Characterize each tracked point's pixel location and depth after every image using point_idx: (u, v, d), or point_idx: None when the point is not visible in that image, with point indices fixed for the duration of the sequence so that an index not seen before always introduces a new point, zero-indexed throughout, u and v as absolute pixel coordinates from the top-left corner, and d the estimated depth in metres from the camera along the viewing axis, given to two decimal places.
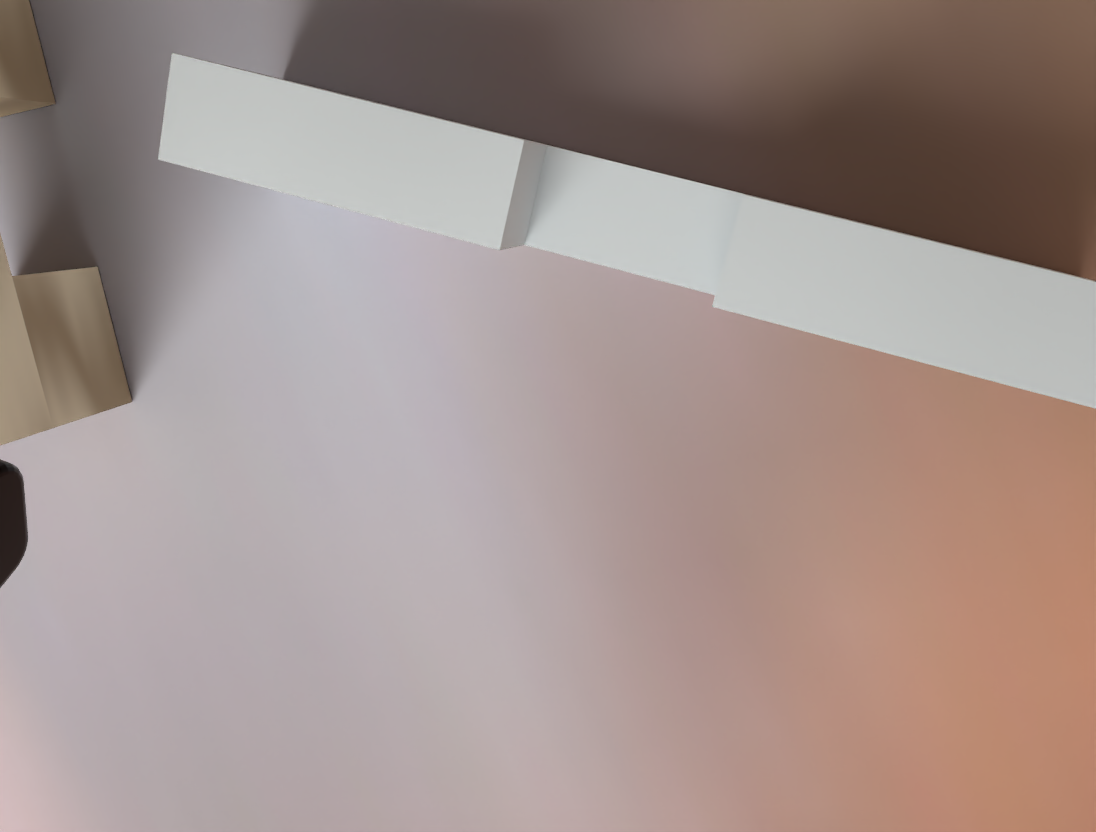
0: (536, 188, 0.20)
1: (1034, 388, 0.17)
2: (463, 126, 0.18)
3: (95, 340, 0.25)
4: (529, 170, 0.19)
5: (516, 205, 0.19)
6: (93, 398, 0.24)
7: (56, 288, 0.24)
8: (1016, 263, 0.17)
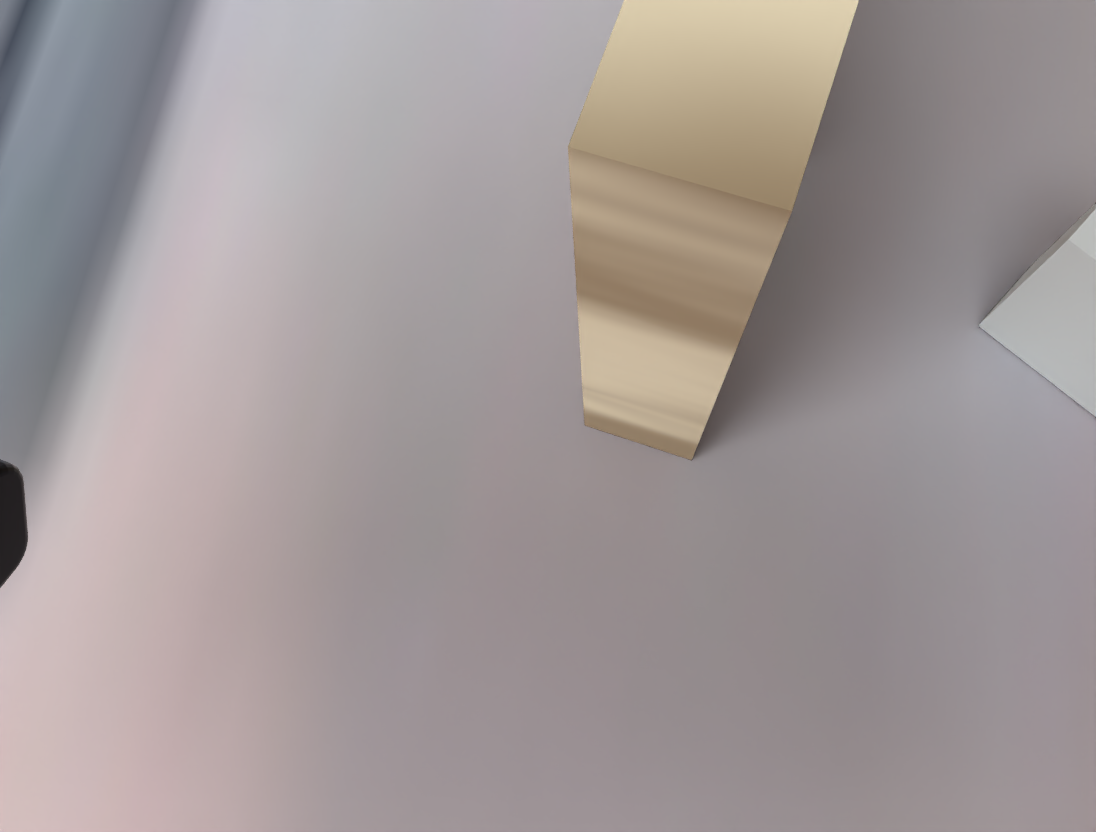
0: None
1: None
2: None
3: None
4: None
5: None
6: None
7: None
8: None
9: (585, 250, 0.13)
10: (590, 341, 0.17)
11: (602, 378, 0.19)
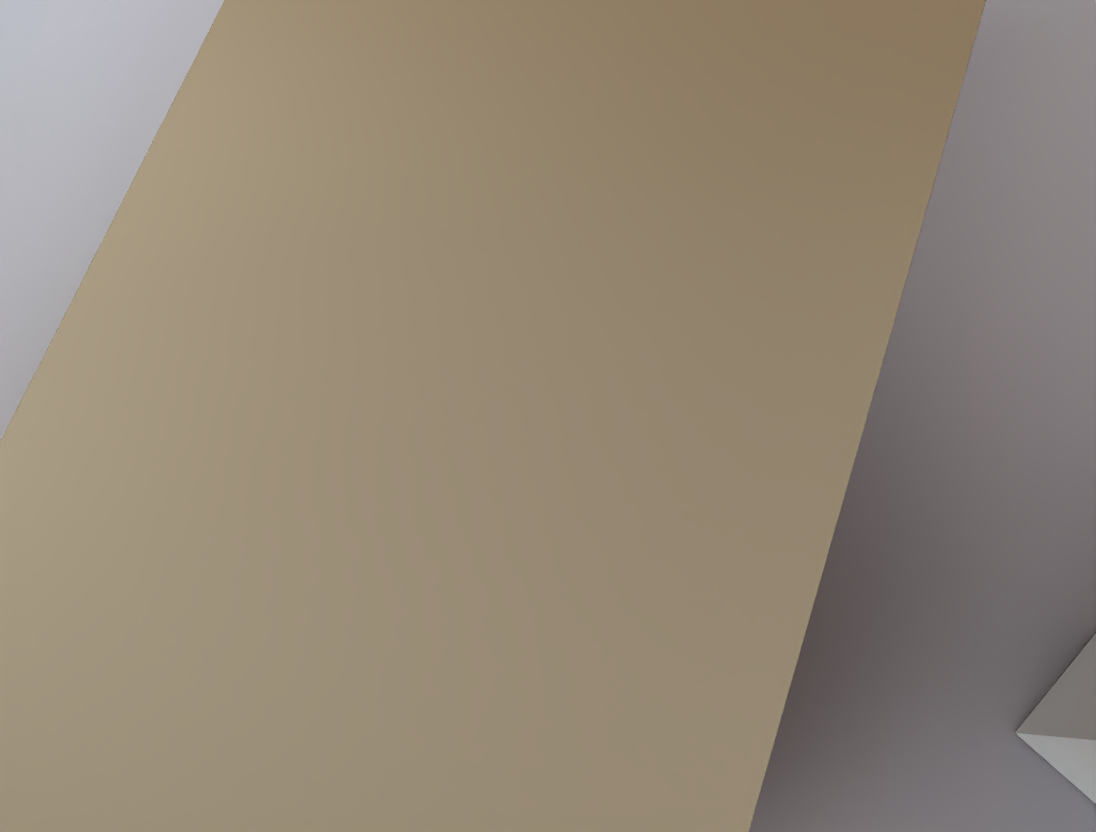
0: None
1: None
2: None
3: None
4: None
5: None
6: None
7: None
8: None
9: None
10: None
11: None
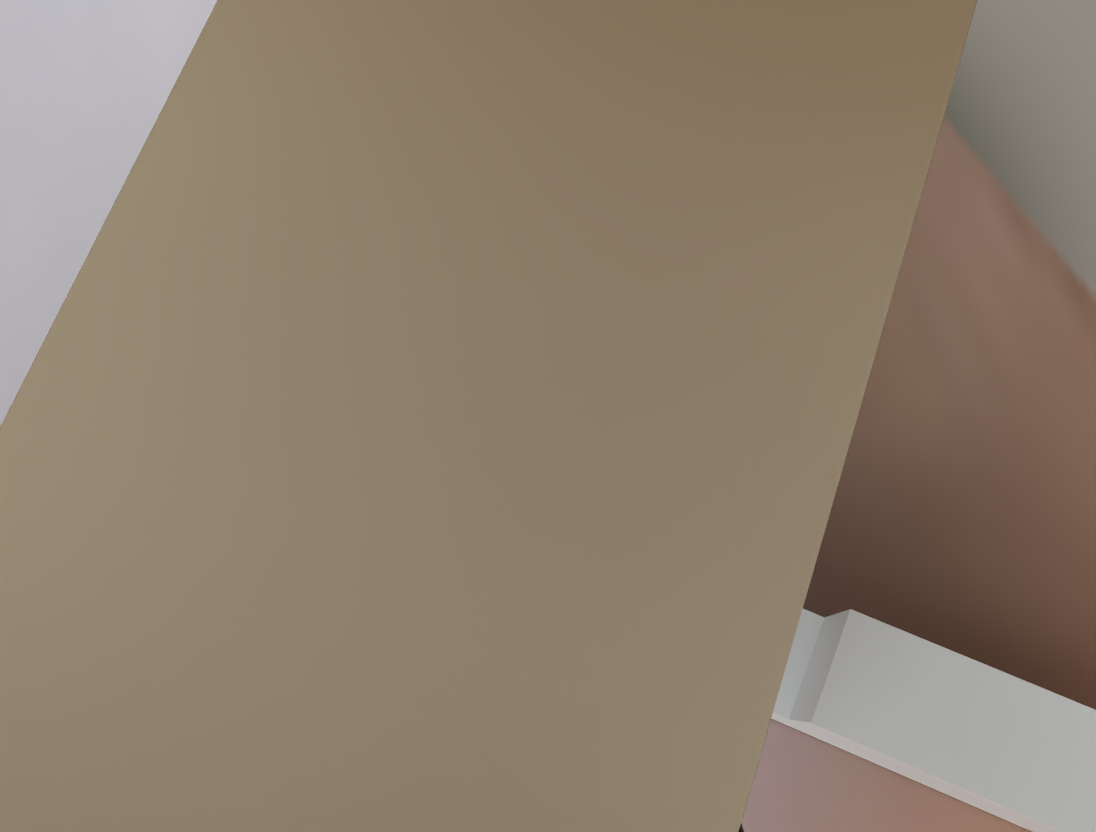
0: None
1: None
2: None
3: None
4: None
5: None
6: None
7: None
8: None
9: None
10: None
11: None
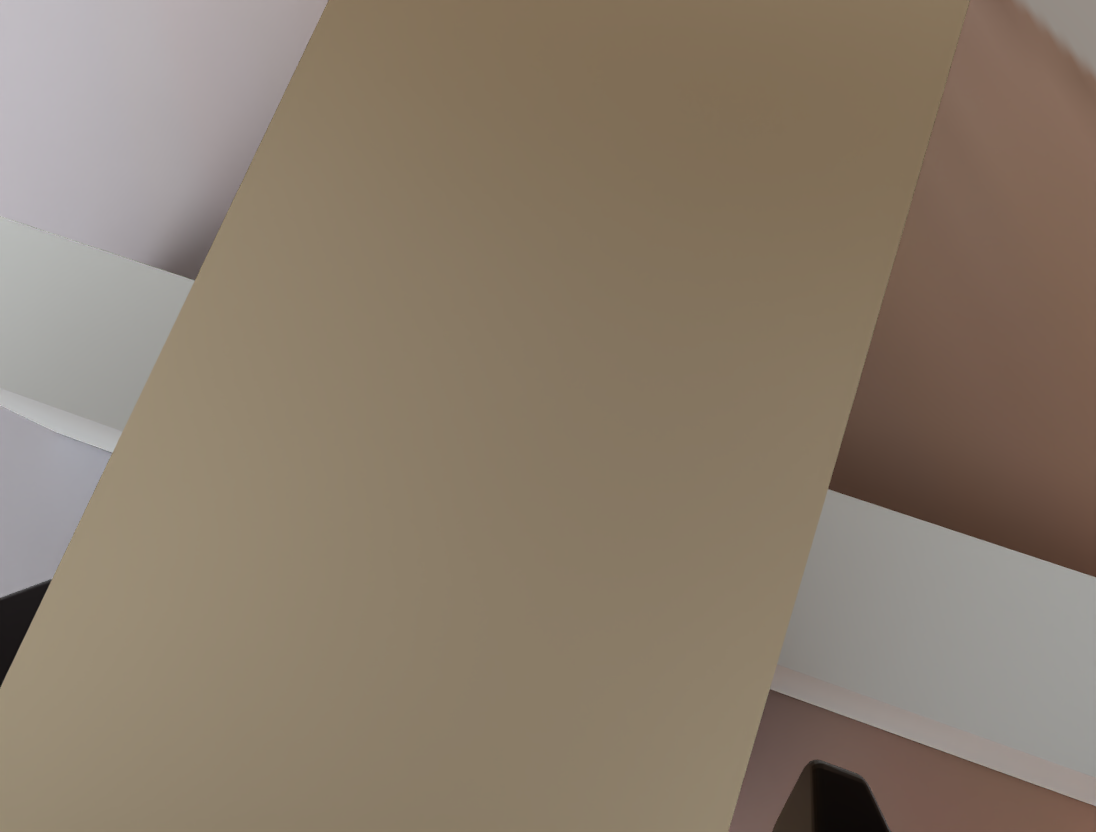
0: None
1: None
2: None
3: None
4: None
5: None
6: None
7: None
8: None
9: None
10: None
11: None
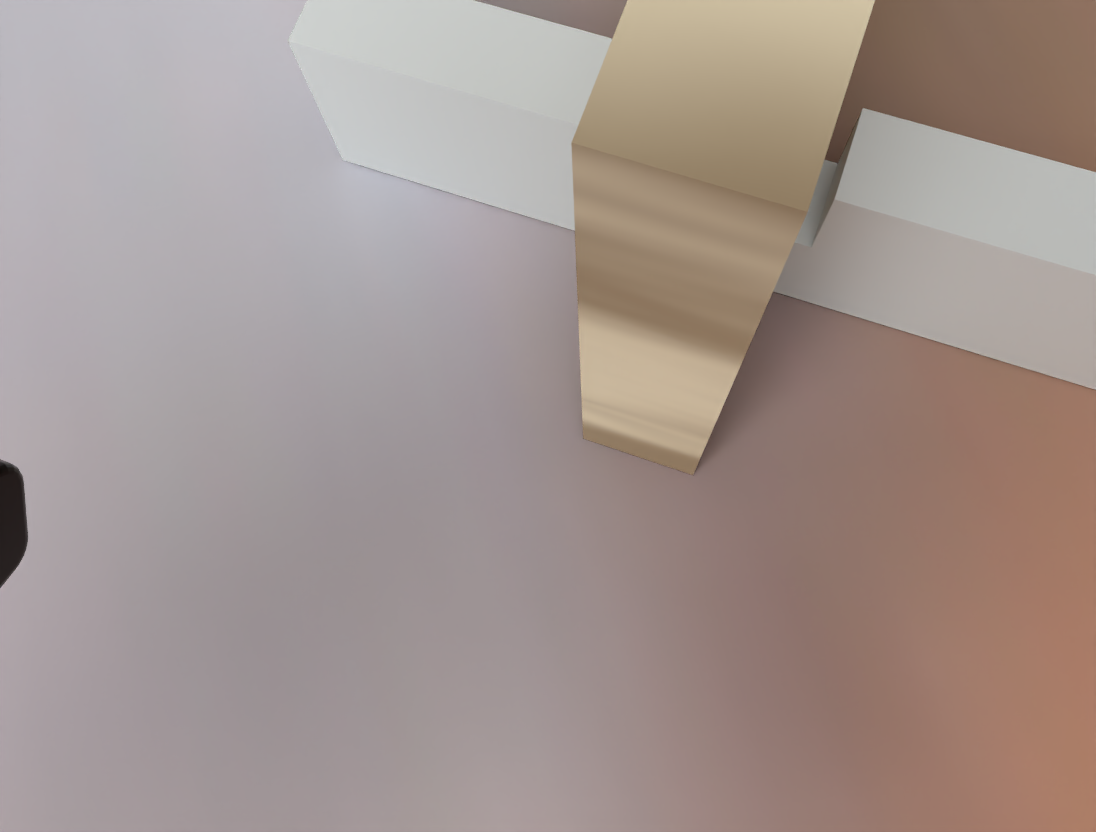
0: None
1: None
2: (601, 37, 0.19)
3: None
4: None
5: None
6: None
7: None
8: None
9: (587, 254, 0.13)
10: (591, 351, 0.16)
11: (602, 389, 0.18)
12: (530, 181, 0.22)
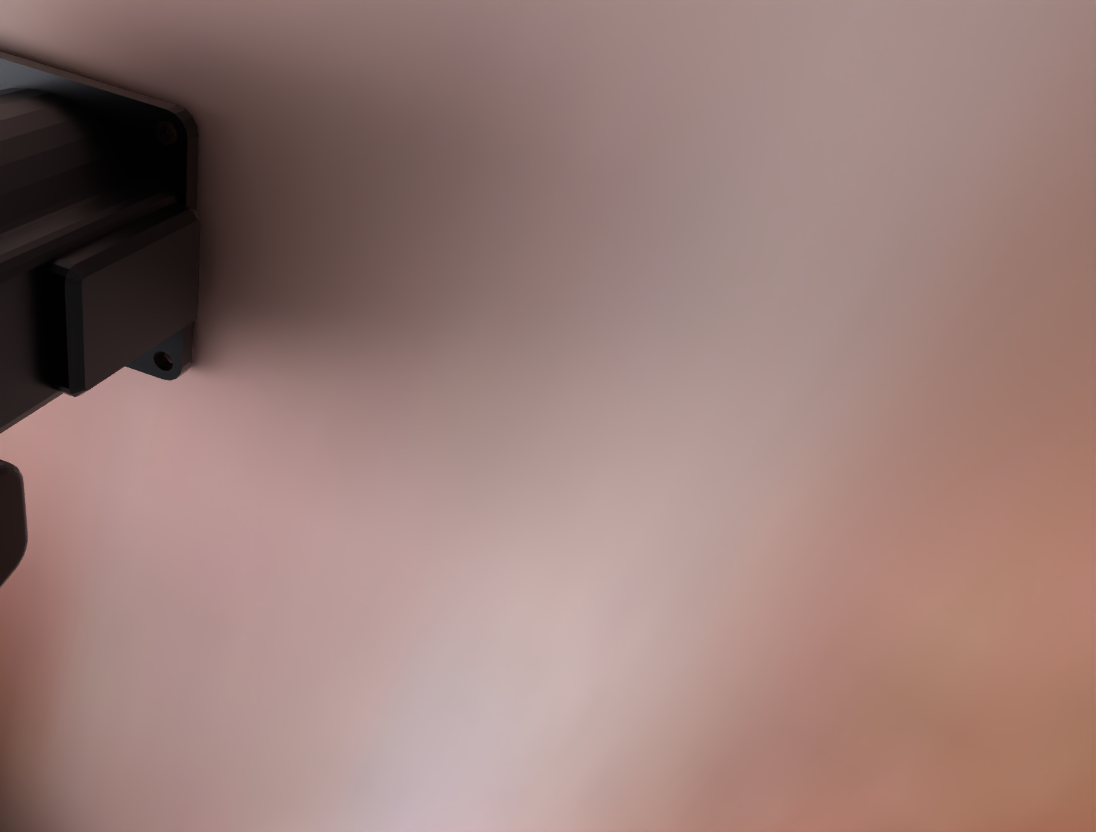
0: None
1: None
2: None
3: None
4: None
5: None
6: None
7: None
8: None
9: None
10: None
11: None
12: None
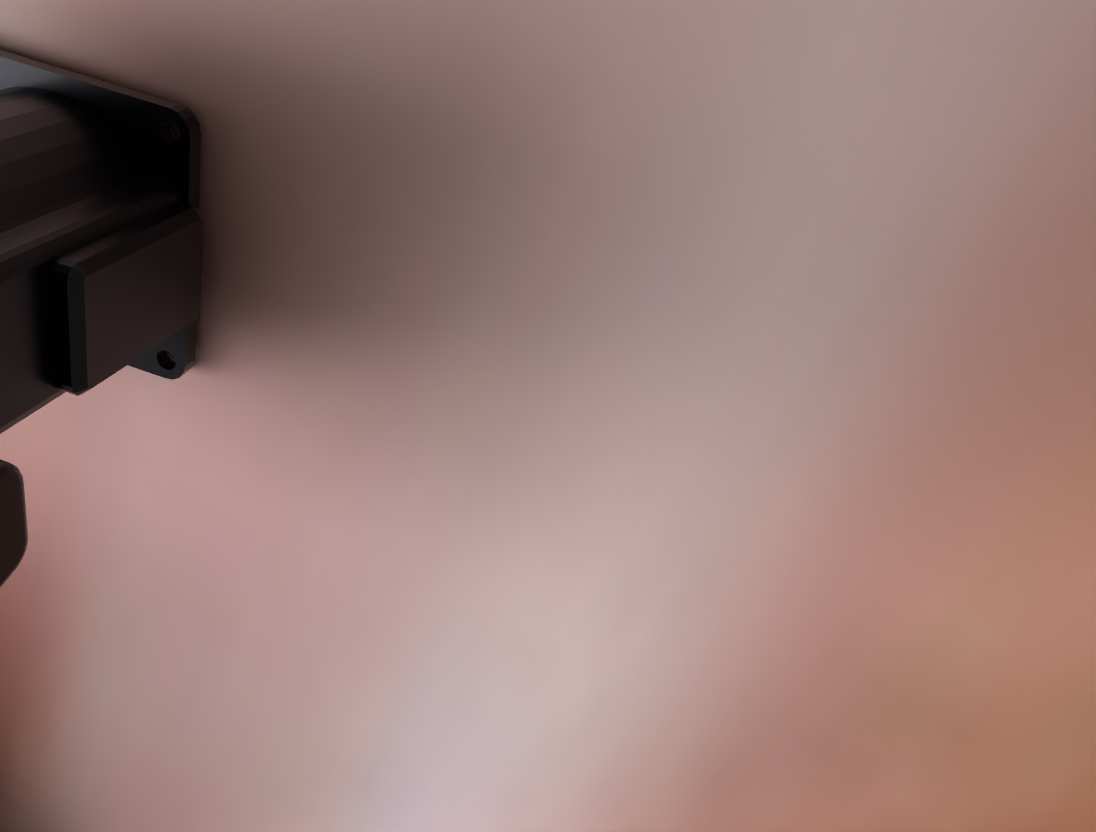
0: None
1: None
2: None
3: None
4: None
5: None
6: None
7: None
8: None
9: None
10: None
11: None
12: None
